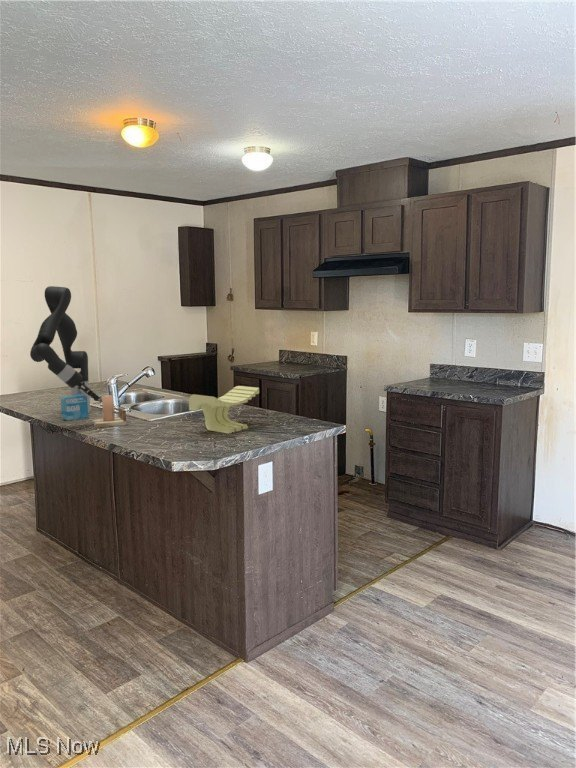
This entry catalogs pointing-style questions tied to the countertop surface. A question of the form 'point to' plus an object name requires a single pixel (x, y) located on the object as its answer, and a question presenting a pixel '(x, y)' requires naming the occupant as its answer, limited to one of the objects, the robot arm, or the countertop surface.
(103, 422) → the wooden l-shaped stand
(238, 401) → the slatted curved stool
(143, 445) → the countertop surface
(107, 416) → the peach dome-topped cylinder
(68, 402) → the data package
